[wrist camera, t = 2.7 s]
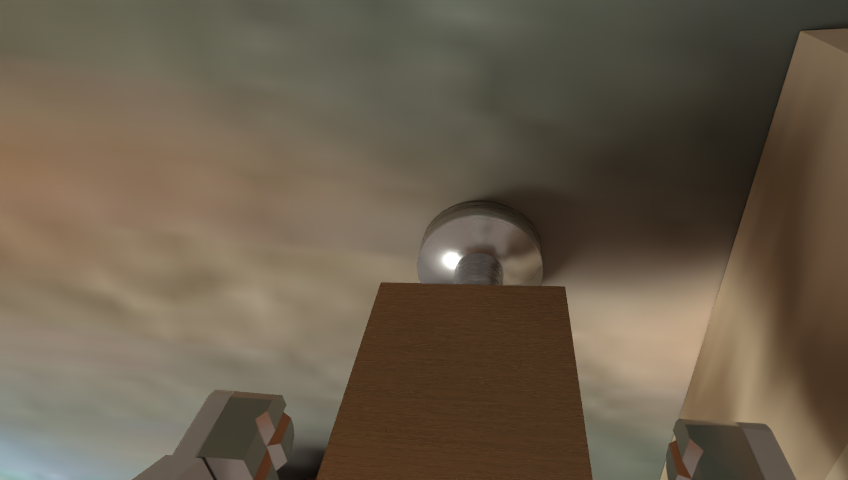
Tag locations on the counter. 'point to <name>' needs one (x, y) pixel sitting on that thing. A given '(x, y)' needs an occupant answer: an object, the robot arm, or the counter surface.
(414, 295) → the wooden block
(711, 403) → the keyhole plate
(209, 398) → the robot arm
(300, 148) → the counter surface
